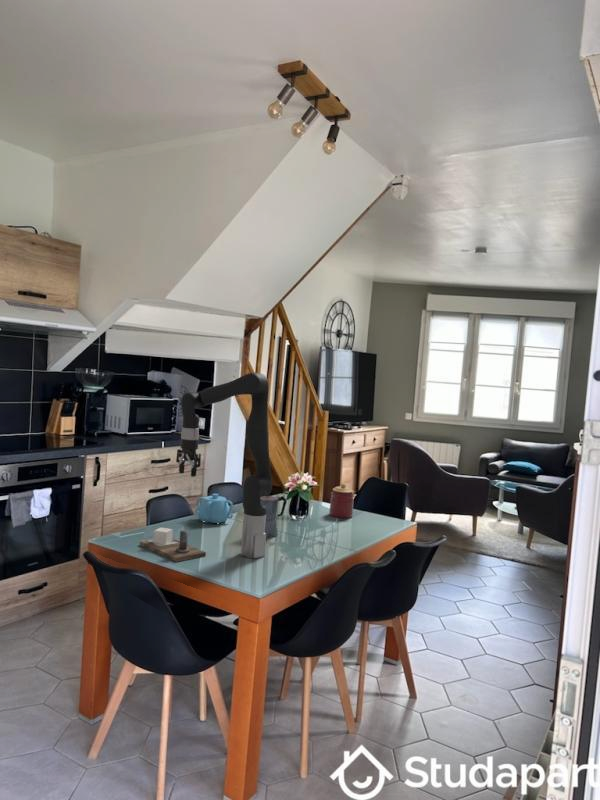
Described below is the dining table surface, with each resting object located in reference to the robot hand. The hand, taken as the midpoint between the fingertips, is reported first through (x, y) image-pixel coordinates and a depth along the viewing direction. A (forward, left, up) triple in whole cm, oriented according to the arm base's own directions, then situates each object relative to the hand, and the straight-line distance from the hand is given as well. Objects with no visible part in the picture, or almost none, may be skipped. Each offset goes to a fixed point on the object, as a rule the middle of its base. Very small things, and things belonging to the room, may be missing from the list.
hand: (187, 474), depth 265 cm
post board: (-12, +14, -28) cm, 34 cm away
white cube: (-5, +14, -26) cm, 30 cm away
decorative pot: (+16, -30, -28) cm, 44 cm away
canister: (-9, -99, -28) cm, 103 cm away
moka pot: (-16, -37, -28) cm, 49 cm away
